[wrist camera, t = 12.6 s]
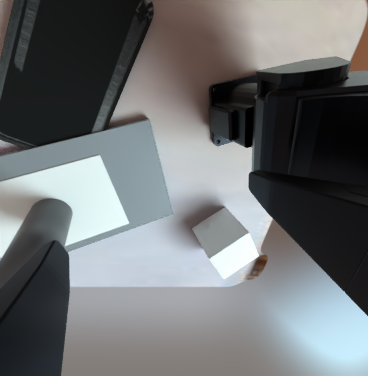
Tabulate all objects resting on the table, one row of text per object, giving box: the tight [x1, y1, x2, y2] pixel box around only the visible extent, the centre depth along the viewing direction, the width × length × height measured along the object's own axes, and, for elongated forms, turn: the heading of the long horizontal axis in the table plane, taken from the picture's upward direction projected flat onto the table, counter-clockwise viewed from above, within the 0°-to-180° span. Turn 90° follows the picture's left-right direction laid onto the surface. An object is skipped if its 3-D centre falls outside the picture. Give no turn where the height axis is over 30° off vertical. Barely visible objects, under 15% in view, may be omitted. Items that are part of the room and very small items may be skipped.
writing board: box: [0, 119, 173, 258], centre depth 20 cm, size 18×12×1 cm, turn 99°
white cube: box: [192, 207, 259, 279], centre depth 28 cm, size 6×6×6 cm
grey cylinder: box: [0, 198, 73, 288], centre depth 14 cm, size 4×4×13 cm
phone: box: [0, 0, 153, 149], centre depth 15 cm, size 8×1×15 cm
